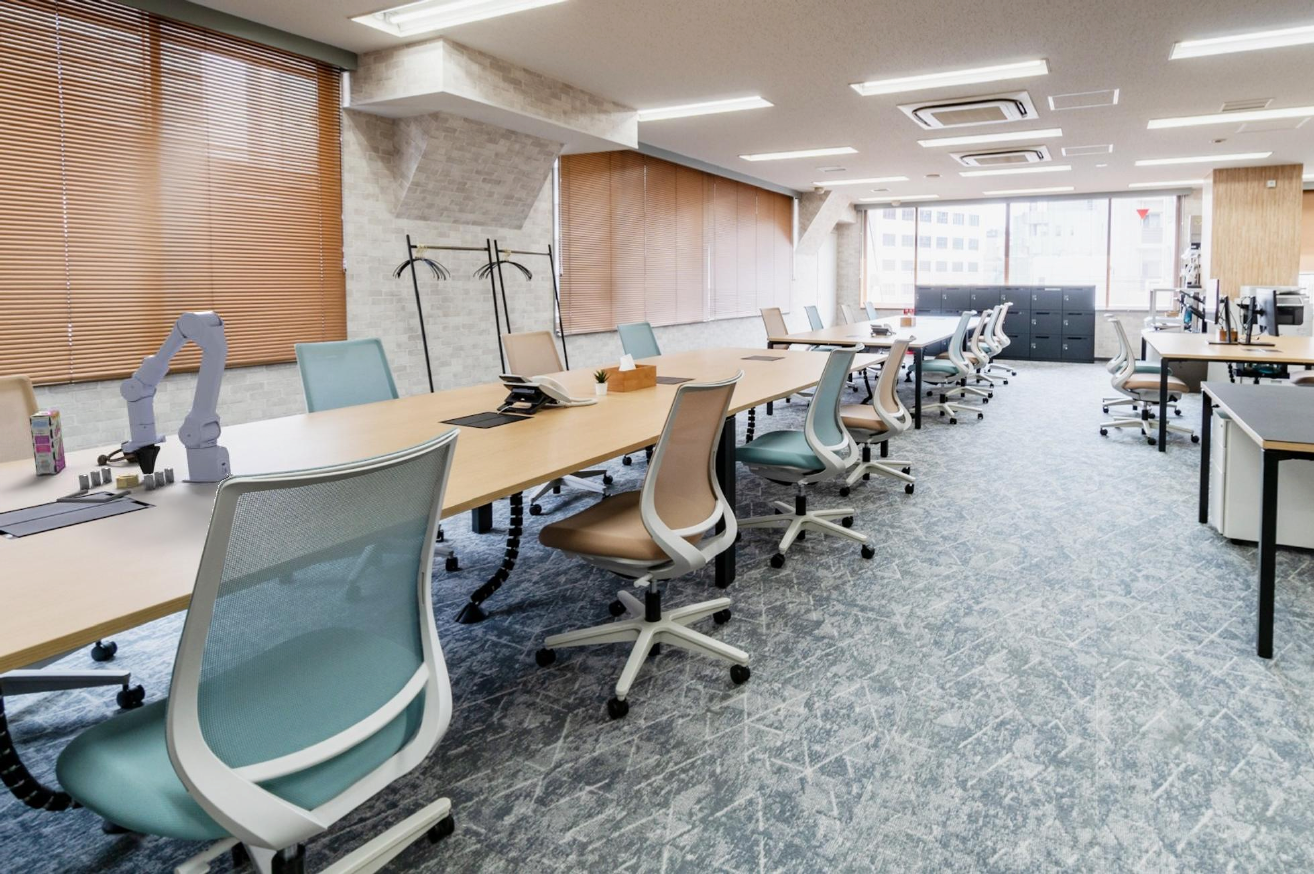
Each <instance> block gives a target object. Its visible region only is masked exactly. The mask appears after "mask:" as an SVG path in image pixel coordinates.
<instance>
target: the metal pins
mask: <svg viewBox="0 0 1314 874" xmlns="http://www.w3.org/2000/svg"><path fill="white" fill-rule="evenodd" d="M111 469H112V468H111V467H103V468H101V470H95V471H89V472H90V473H89V474H90V476H89V474H79V475H78V483H79V489H80V490H79V491H83V490H90V488H91V486H92V487H99V486H102V483H109V482H110V483H111V482H113V478H112V476H113V475H112V470H111ZM163 470H164V471H154V472H153V474H145V475H144V476H143V481H144V489H145V491H153V490H155V488H156V487H157V488H158V487H159V488H160V487H164V486H165V484H172V483H174V482H175V476H174V475H175V474H174V473H175V472H174V468H171V467H168V468H164V469H163ZM100 471H101V473H100ZM89 477H90V478H89ZM101 477H102V480H101ZM89 479H90V480H91V486H90V480H89ZM101 481H102V482H101Z"/></svg>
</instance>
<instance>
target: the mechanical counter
mask: <svg viewBox="0 0 1314 874" xmlns="http://www.w3.org/2000/svg"><path fill="white" fill-rule="evenodd" d="M126 443H128V440H126V441H123V442H121V443H120V448H118V449H116V450H114V451H111V452H110V453H109V454H108V455H105V454H101V455H98V458H96V459H97V464H99V465H100V466H104V465H106V464H107V462H109V463H117V462H118V463H119V462H121V461H125V460H126V461H127V462H128V463H130V464H132V463H136V462H137V460H136V459H135V457H134V456H133V455H132V454H131V453H130V452H123V450H122V445H124V444H126ZM119 453H122V454H123V456H120V457H116V458H112V457H114V456H115V455H117V454H119Z"/></svg>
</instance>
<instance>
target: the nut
mask: <svg viewBox="0 0 1314 874" xmlns="http://www.w3.org/2000/svg"><path fill="white" fill-rule="evenodd" d="M115 482H116V488H123V489H124V488H125V489H126V488H131V487H132V488H133V487H138V486H139V485H140V480H139V474H136V473H135V474H132V473H131V474H130V473H129V474H123V475H117V476H116V478H115Z"/></svg>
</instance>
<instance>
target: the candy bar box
mask: <svg viewBox="0 0 1314 874" xmlns="http://www.w3.org/2000/svg"><path fill="white" fill-rule="evenodd" d="M28 418H29V424H30V432H31V441H32V447H33V449H32V450H33V454H34V455H33V456H34V463H35V471H36V476H49V475H58V474H59V473H60V472H61V471H62V470H64V468H65V467H67V466H66V456H65V449H64V448H65V447H64V442H63V441H64V440H63V431H62V424H61V416H60V410H43V411H42V410H40V411H38V412H36V413H33V414H31V415H29V416H28Z"/></svg>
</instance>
